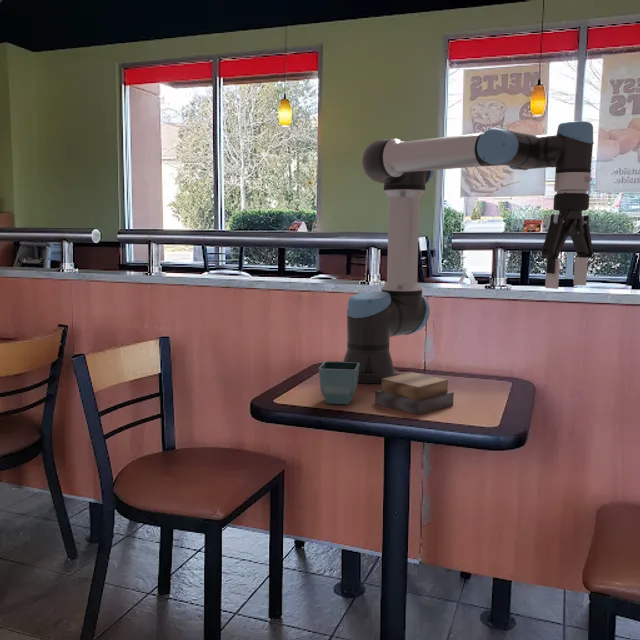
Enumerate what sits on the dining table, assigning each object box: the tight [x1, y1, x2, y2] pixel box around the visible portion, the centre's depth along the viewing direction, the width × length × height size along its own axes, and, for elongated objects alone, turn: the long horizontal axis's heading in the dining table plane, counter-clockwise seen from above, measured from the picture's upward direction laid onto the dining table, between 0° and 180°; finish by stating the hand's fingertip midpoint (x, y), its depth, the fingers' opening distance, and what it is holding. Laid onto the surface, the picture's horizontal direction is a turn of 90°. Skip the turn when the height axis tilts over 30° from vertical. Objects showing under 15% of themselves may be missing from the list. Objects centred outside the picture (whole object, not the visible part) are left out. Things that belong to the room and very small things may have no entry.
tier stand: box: [374, 371, 455, 416], centre depth 153 cm, size 13×13×6 cm
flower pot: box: [318, 361, 360, 405], centre depth 154 cm, size 9×9×9 cm
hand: (566, 286), depth 150 cm, fingers open, 13 cm apart
